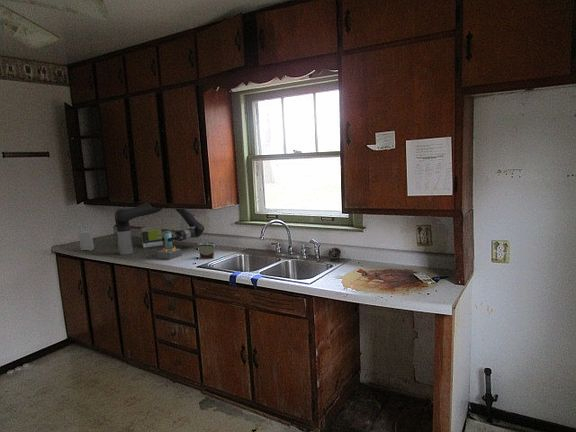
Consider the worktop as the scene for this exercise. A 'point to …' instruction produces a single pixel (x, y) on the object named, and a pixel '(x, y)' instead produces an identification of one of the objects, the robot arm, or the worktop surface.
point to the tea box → (151, 236)
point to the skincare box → (86, 240)
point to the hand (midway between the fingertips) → (165, 239)
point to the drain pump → (167, 243)
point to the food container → (206, 250)
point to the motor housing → (169, 253)
